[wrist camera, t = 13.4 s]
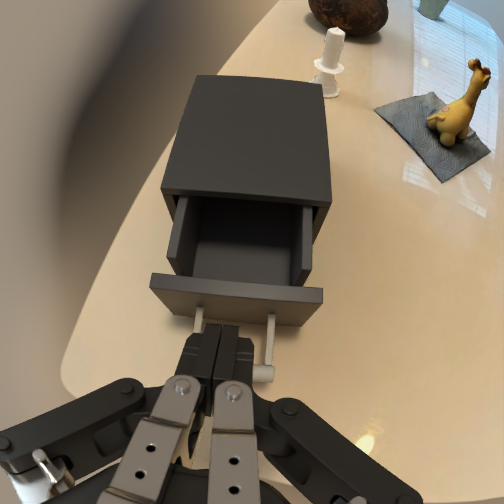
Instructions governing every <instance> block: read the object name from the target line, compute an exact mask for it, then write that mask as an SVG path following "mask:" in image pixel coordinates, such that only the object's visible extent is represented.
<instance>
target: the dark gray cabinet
mask: <svg viewBox="0 0 504 504" xmlns="http://www.w3.org/2000/svg"><path fill="white" fill-rule="evenodd" d="M160 189H161V191H162V194H163V197H164V200H165V202H166V205H167V208H168V210H169V213H170V215H171V218H172V221H173V223H174V218H175V213H176V209H177V205H178V200H179V196H180V195H189V196H205V197H220V198H233V199H246V200H258V201H269V202H280V203H291V204H301V205H310V206H312V246H313V244H314V241H315V239H316V237H317V235H318V233H319V230H320V228H321V226H322V224H323V222H324V219H325V217H326V215H327V213H328V210H329V208H330V206H331V203H332V191H331V174H330V160H329V147H328V136H327V125H326V115H325V106H324V97H323V88H322V84H317V83H309V82H301V81H293V80H284V79H273V78H261V77H246V76H222V75H197V76H196V79H195V82H194V85H193V87H192V90H191V93H190V96H189V98H188V101H187V104H186V107H185V110H184V113H183V116H182V119H181V122H180V125H179V128H178V131H177V134H176V137H175V140H174V143H173V147H172V150H171V153H170V156H169V160H168V163H167V167H166V170H165V173H164V177H163V180H162V184H161V188H160Z"/></svg>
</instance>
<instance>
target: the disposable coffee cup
mask: <svg viewBox="0 0 504 504" xmlns="http://www.w3.org/2000/svg"><path fill="white" fill-rule="evenodd" d="M448 1H449V0H421V1H420V6H419V12H420V13H421V14H422V15H424V16H426V17H427V18H430V19H432V20H436V19H437V18H438V17H439V15H440V14H441V12H442V11H443V9H444V7H445V6H446V4H447V3H448Z"/></svg>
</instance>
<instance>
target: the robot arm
mask: <svg viewBox="0 0 504 504" xmlns="http://www.w3.org/2000/svg"><path fill="white" fill-rule="evenodd" d="M253 361H254V344H253V342H252V341H251V339H250V338H242V337H239V326H231V325H223V326H222V325H220V324H211V323H206V325H205V329H204V332H203V334H202V333H193V334H192V335H190V336H189V337H188V338H187V340H186V343H185V346H184V348H183V351H182V354H181V357H180V360H179V363H178V366H177V369H176V372H175V375H174V376H172V377H171V378H169V379H168V380H167V381H166V383H165V385H163V386H159V387H151V388H144V386H143V385H142V383H141V382H139V381H138V380H136V379H132V378H122V379H119V380H117V381H114V382H112V383H110V384H108V385H106V386H104V387H102V388H100V389H97V390H95V391H93V392H91V393H89V394H87V395H84V396H82V397H80V398H78V399H76V400H74V401H71V402H69V403H67V404H64V405H62V406H60V407H58V408H55V409H53V410H51V411H49V412H46V413H44V414H42V415H40V416H37V417H35V418H32V419H30V420H27V421H25V422H23V423H20V424H18V425H15V426H13V427H10V428H8V429H5V430H3V431H0V466H1V468H2V469H3V470H4V471H5V472H6V473H7V475H8V476H9V478H10V480H11V482H12V484H13V486H14V488H15V490H16V492H17V494H18V497H19V499H20V501H21V503H22V504H290V503H289V501H288V500H287V499H286V498H285V497H284V496H283V495H282V494H281V493H280V492H279V491H278V490H277V489H275V488H274V487H273V486H271V485H270V484H268V483H266V482H264V481H261V480H259V468H258V452H257V450H259V451H262V452H263V454H264V456H265V457H266V458H267V459H268V461H269V462H270V463H271V464H272V465H273V466H274V467H275V468H276V469H277V470H278V471H279V472H280V473H281V474H282V475H283V476H284V477H285V478H286V479H287V480H288V481H289V482H290V483H291V484H292V485H293V486H294V487H296V488H297V489H298V490H299V491H300V492H301V493H302V494H303V495H304V496H305V497H306V498H307V499H308V500H309V501H310V502H311V503H313V504H423V499H422V497H421V495H420V494H419V493H418V492H417V491H416V490H414V489H413V488H412V487H410V486H409V485H407V484H406V483H405V482H403V481H402V480H400V479H399V478H398V477H396V476H395V475H393V474H392V473H391V472H389V471H388V470H387V469H385V468H384V467H383V466H381V465H380V464H379V463H377V462H376V461H375V460H373V459H372V458H371V457H369V456H368V455H367V454H366V453H364V452H363V451H362V450H360V449H359V448H358V447H357V446H355V445H354V444H353V443H351V442H350V441H349V440H348V439H346V438H345V437H344V436H343V435H341V434H340V433H339V432H338V431H336V430H335V429H334V428H333V427H332V426H330V425H329V424H328V423H327V422H326V421H324V420H323V419H322V418H321V417H320V416H318V415H317V414H316V413H315V412H314V411H312V410H311V409H310V408H309V407H308V406H306V405H305V404H304V403H303V402H301V401H300V400H297V399H294V398H281V399H278V400H277V401H275V402H270V401H267V400H264V399H262V398H261V397H259V396H258V395H257V394H256V393H255V392H254V390H253V387H252V379H253ZM212 408H213V429H212V433H211V448H210V464H209V469H199V470H193V469H192V464H193V460H194V457H195V454H196V450H197V447H198V444H199V440H200V437H201V434H202V426H203V424H204V419H205V416H209V417H211V414H212ZM122 456H123V457H122ZM120 457H122V459H121V461H120V463H117V464H114V465H112V466H110V467H108V468H106V469H104V470H103V471H101V472H99V473H97V474H96V475H94V476H92V477H90V478H88V479H87V480H85V481H83V482H81V483H79V484H78V485H76V486H75V481H76V480H78V479H80V478H82V477H84V476H86V475H88V474H90V473H92V472H94V471H96V470H98V469H100V468H102V467H104V466H106V465H107V464H109V463H111V462H113V461H115V460H117V459H118V458H120Z"/></svg>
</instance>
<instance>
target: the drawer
mask: <svg viewBox="0 0 504 504" xmlns="http://www.w3.org/2000/svg"><path fill="white" fill-rule="evenodd" d="M166 257H167V259H168V261H169V263H170V264H171V266H172V268H173V270H174V272H175V273H176V275H169V274H159V273H152V276H151V281H150V286H149V288H150V289H151V290H152V291H153V292H154V293H155V295H156V296H157V297H158V298H159V299H160V300H161V301H162V302H163V303H164V305H165V306H166V307H167V308H168V309H169V310H170V311H171V312H172V313H173V314H174V315H181V316H189V317H195V322H194V329H193V333H201V330H202V322H203V318H207V319H216V320H226V321H236V322H247V323H259V324H267V337H266V349H265V362H264V365H256V364H253V379H252V381H256V382H271V383H272V382H273V381H274V372H275V367H274V366H271V365H272V360H273V347H274V333H275V325H285V326H300V327H301V326H302V325H303V324H304V323H305V322H306V321H307V320H308V319H309V318H310V317H311V316H312V315H313V314H314V313H315V311H316V310H317V309H318V308H319V307H320V306H321V305H322V304H323V288H314V287H303V285H304V283H305V281H306V279H307V278H308V276H309V274H310V272H311V270H312V206H310V205H301V204H291V203H280V202H269V201H258V200H246V199H233V198H220V197H205V196H189V195H180V196H179V200H178V205H177V209H176V213H175V218H174V223H173V227H172V232H171V237H170V241H169V246H168V251H167V256H166Z"/></svg>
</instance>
